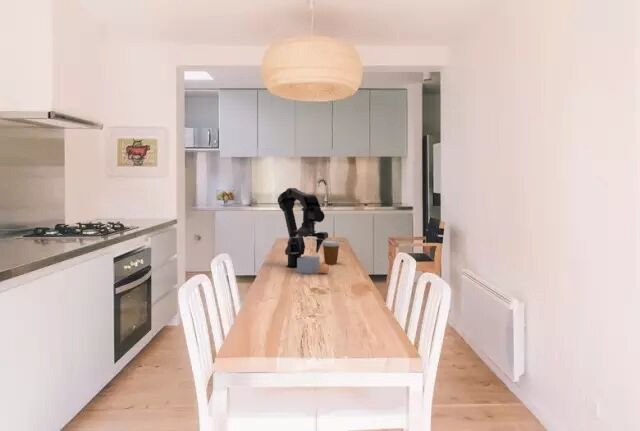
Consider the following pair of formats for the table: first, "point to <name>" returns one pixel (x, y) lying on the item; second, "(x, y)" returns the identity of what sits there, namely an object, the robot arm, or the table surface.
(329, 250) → the disposable coffee cup
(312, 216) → the robot arm
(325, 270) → the ball
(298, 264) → the grey rectangular block
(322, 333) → the table surface
